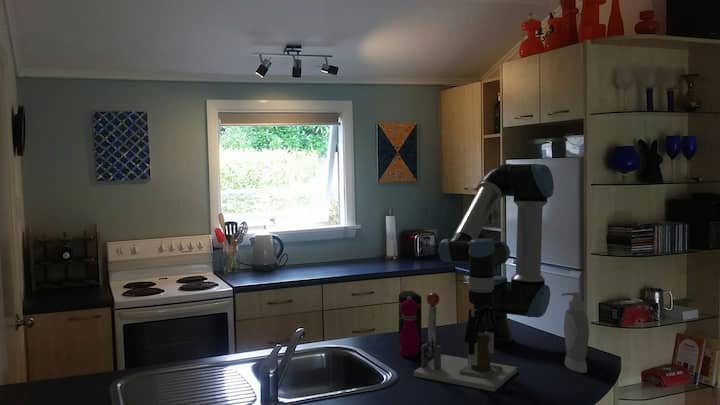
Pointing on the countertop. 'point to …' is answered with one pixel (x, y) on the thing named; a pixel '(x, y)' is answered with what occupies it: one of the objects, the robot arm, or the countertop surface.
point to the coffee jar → (417, 299)
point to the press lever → (431, 324)
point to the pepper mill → (409, 328)
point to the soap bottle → (576, 334)
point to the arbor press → (462, 371)
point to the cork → (482, 354)
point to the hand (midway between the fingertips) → (481, 358)
